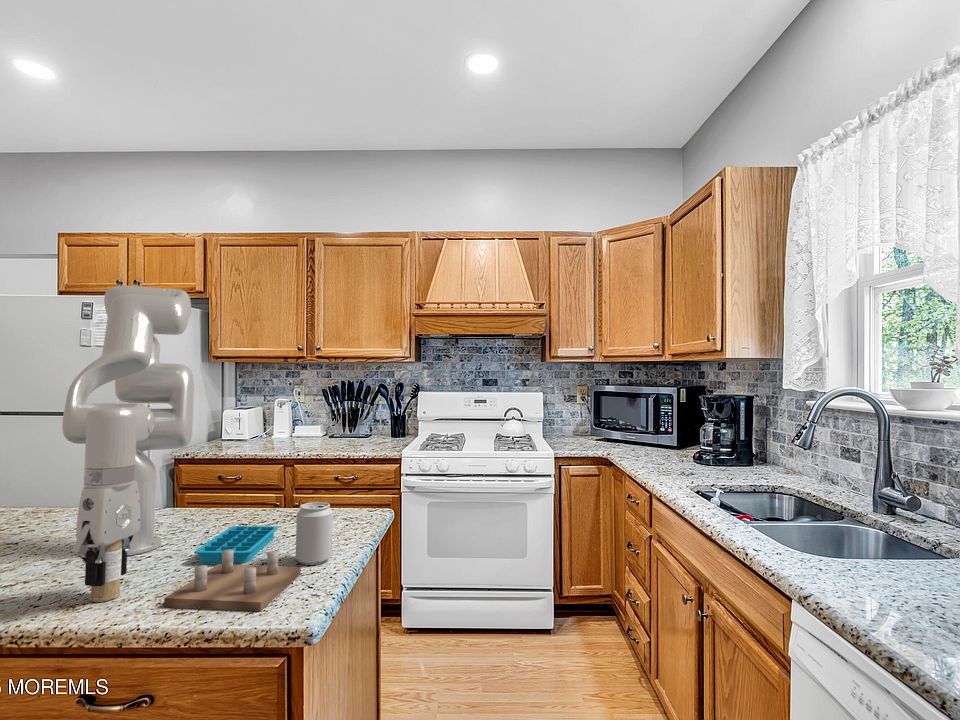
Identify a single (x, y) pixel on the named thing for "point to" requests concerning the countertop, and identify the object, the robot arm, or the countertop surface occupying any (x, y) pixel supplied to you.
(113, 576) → the sprinkles bottle
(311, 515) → the can
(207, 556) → the ice cube tray
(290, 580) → the peg board
